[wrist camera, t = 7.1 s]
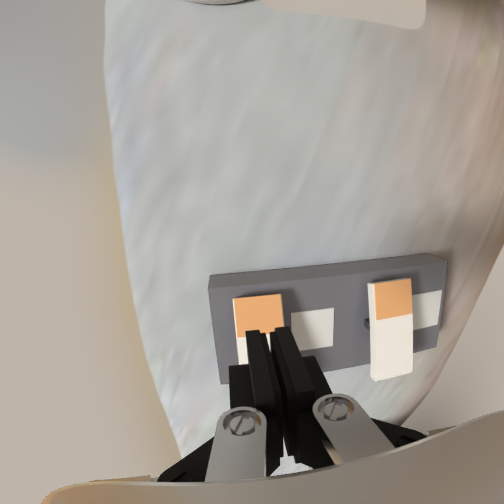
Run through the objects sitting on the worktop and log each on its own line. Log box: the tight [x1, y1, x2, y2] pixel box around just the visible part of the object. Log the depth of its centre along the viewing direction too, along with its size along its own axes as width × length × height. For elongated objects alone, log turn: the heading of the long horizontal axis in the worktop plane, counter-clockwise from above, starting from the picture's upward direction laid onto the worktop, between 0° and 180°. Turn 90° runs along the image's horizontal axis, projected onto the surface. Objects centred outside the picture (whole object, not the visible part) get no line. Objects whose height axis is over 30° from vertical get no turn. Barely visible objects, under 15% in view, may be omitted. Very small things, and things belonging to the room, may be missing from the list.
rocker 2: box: [367, 278, 413, 381], centre depth 27 cm, size 9×4×1 cm, turn 4°
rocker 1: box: [233, 294, 285, 365], centre depth 26 cm, size 9×4×1 cm, turn 4°
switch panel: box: [208, 253, 447, 384], centre depth 30 cm, size 10×24×6 cm, turn 94°
